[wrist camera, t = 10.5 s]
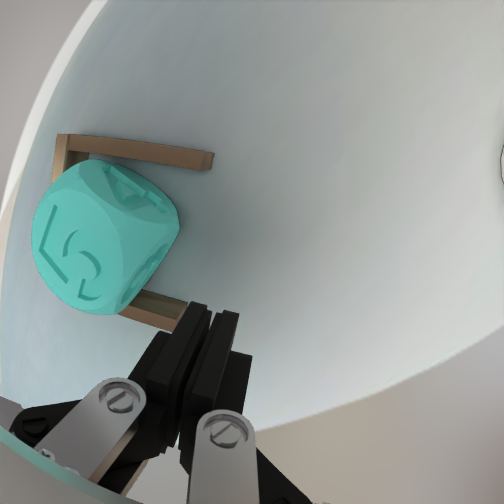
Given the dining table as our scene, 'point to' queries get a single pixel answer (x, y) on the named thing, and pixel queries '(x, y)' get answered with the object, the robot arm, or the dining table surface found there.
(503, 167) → the white cup
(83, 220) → the decorative dice
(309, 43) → the dining table surface
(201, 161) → the corral
